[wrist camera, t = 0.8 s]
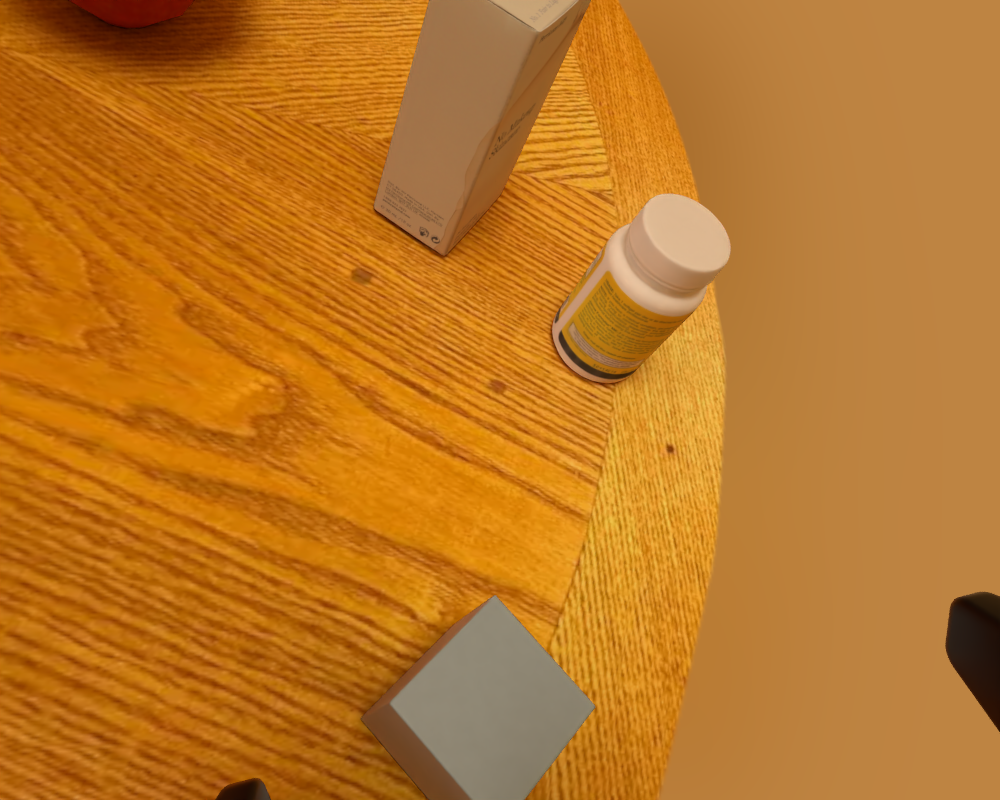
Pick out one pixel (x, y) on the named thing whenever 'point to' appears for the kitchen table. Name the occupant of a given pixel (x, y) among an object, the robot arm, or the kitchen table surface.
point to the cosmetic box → (470, 110)
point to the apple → (134, 11)
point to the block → (480, 711)
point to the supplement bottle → (640, 288)
